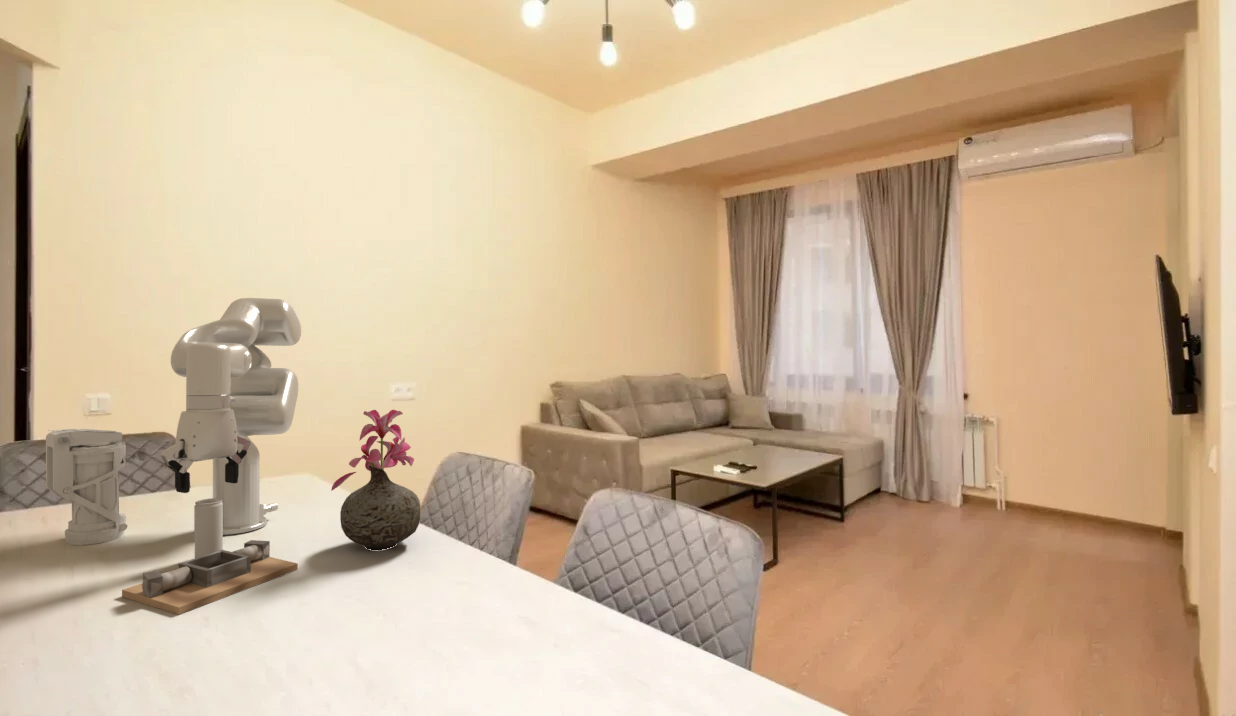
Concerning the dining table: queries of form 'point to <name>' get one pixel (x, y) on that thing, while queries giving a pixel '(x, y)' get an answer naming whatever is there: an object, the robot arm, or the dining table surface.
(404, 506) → the vase
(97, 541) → the lantern
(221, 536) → the beverage can
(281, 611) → the dining table surface
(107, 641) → the dining table surface
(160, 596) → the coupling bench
